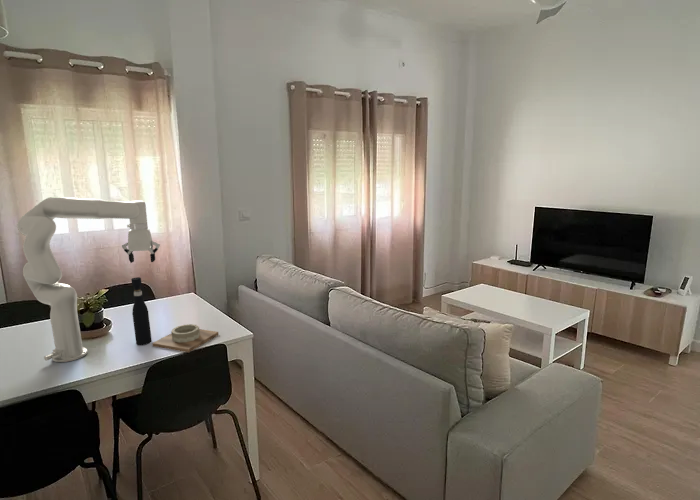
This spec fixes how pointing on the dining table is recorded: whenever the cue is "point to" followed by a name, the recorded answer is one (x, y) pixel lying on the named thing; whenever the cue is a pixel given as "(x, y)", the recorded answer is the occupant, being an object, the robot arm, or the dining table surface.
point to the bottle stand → (185, 338)
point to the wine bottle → (140, 315)
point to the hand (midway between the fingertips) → (142, 261)
